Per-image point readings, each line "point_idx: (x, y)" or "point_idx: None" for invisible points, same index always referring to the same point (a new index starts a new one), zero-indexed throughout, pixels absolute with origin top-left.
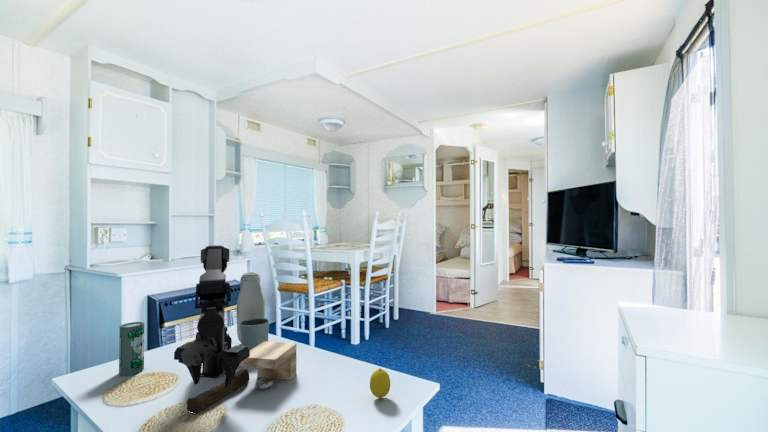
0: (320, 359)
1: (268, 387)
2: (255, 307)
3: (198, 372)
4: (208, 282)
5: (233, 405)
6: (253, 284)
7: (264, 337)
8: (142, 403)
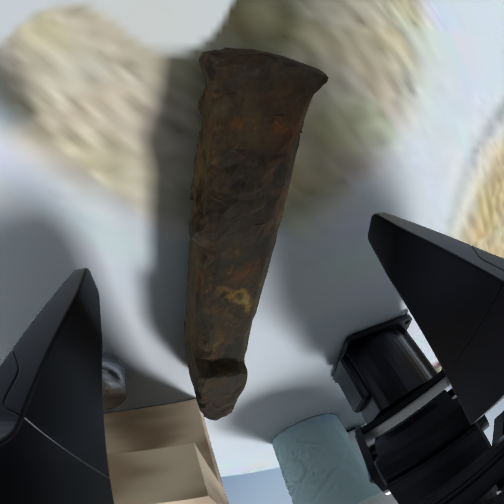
0: None
1: None
2: None
3: (419, 290)
4: None
5: (69, 218)
6: None
7: (291, 487)
8: (489, 117)
